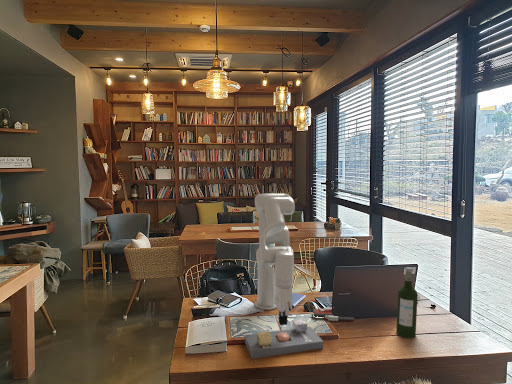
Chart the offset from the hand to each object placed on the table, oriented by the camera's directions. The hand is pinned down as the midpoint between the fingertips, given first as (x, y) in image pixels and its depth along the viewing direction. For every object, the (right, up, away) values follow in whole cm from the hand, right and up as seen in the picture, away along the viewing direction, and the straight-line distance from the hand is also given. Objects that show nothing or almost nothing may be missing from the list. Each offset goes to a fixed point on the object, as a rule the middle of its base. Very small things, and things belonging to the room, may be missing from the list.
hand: (283, 323), depth 143 cm
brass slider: (-8, -6, -5) cm, 11 cm away
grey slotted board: (0, -9, 0) cm, 9 cm away
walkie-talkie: (+26, -7, +26) cm, 38 cm away
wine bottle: (+55, -9, +10) cm, 57 cm away
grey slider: (+8, -5, +6) cm, 11 cm away
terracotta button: (0, -7, 0) cm, 7 cm away
